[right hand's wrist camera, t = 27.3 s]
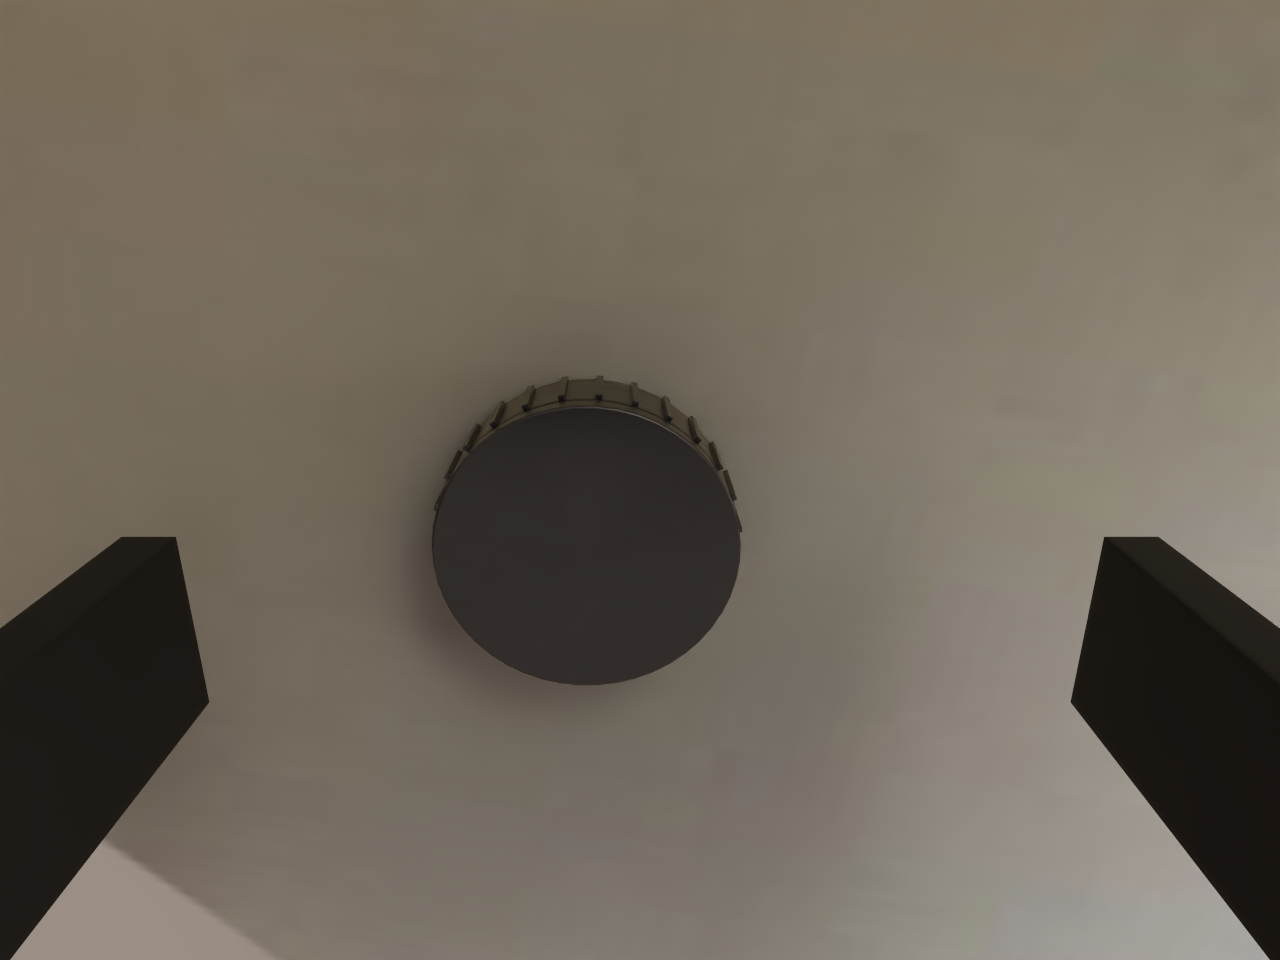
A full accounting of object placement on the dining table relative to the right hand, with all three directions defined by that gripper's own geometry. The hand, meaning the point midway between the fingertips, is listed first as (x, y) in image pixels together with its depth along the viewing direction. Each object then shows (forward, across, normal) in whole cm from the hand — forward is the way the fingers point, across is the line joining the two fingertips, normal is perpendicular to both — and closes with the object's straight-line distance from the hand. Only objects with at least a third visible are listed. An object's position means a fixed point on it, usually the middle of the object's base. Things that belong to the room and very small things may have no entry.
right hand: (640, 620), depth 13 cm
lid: (+2, +1, 0) cm, 3 cm away
